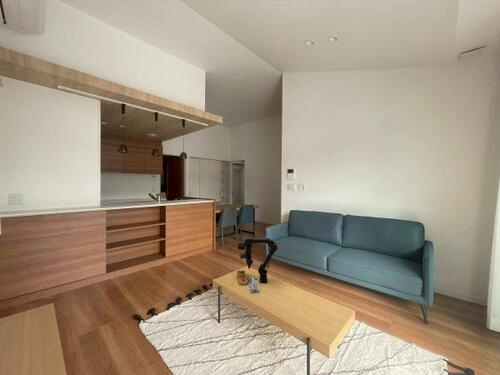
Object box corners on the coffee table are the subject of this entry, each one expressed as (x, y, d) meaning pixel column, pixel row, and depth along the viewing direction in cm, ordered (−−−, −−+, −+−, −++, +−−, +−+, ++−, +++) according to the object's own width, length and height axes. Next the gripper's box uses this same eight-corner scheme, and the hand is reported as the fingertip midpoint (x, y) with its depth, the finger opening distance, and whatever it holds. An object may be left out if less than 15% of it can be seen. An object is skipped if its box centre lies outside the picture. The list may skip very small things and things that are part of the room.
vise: (256, 282, 196) (256, 276, 196) (258, 287, 186) (258, 281, 186) (247, 282, 195) (248, 276, 195) (249, 287, 185) (249, 281, 185)
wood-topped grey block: (257, 289, 181) (257, 280, 181) (258, 291, 178) (258, 281, 178) (251, 290, 181) (251, 280, 180) (251, 292, 178) (251, 282, 177)
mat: (258, 289, 184) (258, 288, 184) (260, 294, 176) (260, 293, 176) (249, 289, 183) (249, 288, 183) (250, 294, 175) (250, 293, 175)
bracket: (235, 277, 205) (236, 270, 205) (244, 276, 207) (244, 269, 207) (240, 286, 188) (240, 279, 187) (248, 285, 190) (249, 278, 190)
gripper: (239, 247, 209) (239, 263, 210) (241, 254, 190) (240, 271, 191) (250, 247, 210) (250, 262, 211) (253, 254, 192) (252, 270, 192)
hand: (248, 266), depth 201 cm, fingers open, 9 cm apart
